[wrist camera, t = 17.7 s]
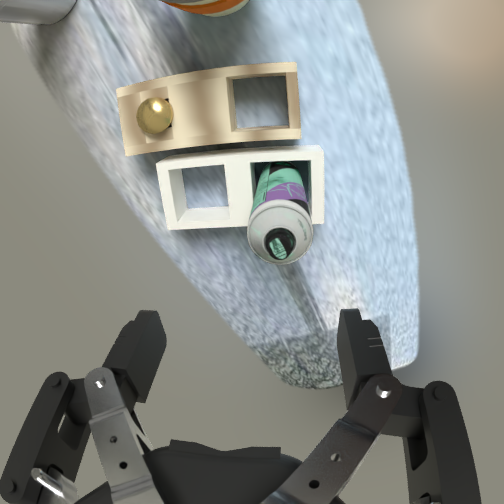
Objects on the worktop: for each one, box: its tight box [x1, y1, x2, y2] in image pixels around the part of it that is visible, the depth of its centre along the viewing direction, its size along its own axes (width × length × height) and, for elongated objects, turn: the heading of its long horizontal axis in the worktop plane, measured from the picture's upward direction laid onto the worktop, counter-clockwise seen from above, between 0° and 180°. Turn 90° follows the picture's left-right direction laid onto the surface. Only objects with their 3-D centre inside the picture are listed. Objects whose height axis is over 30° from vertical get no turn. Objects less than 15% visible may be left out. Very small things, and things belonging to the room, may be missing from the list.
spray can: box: [247, 161, 313, 265], centre depth 31 cm, size 6×6×20 cm
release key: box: [136, 97, 174, 134], centre depth 34 cm, size 4×4×6 cm
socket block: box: [116, 62, 301, 156], centre depth 34 cm, size 22×9×5 cm, turn 95°
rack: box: [156, 145, 324, 230], centre depth 38 cm, size 20×9×5 cm, turn 95°
